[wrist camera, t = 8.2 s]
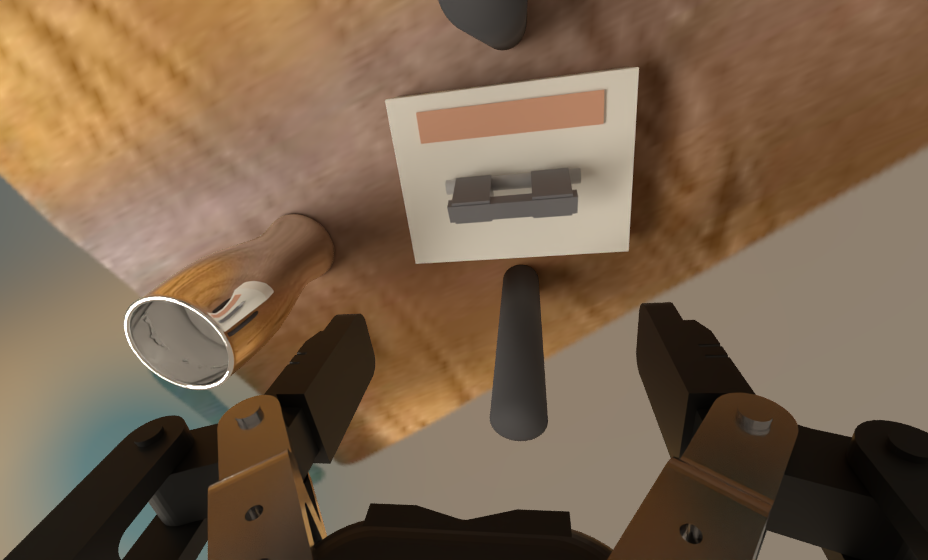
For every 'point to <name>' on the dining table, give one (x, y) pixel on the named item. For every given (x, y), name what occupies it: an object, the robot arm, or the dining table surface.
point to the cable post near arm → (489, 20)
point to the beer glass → (226, 304)
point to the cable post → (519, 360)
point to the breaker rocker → (513, 196)
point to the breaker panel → (519, 162)
